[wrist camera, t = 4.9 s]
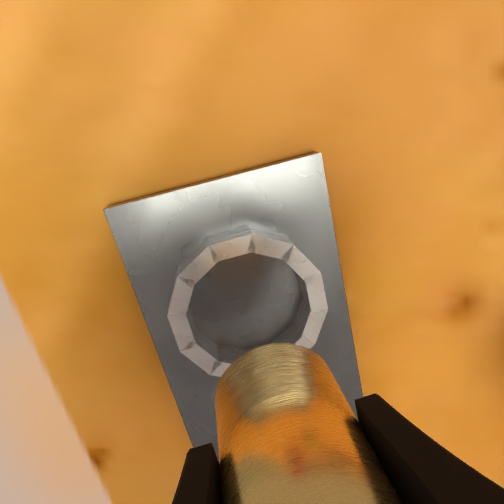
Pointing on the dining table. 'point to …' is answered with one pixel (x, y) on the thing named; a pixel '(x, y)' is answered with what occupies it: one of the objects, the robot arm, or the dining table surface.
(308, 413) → the brass fitting
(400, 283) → the dining table surface
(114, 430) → the dining table surface
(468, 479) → the robot arm
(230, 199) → the pipe plate
